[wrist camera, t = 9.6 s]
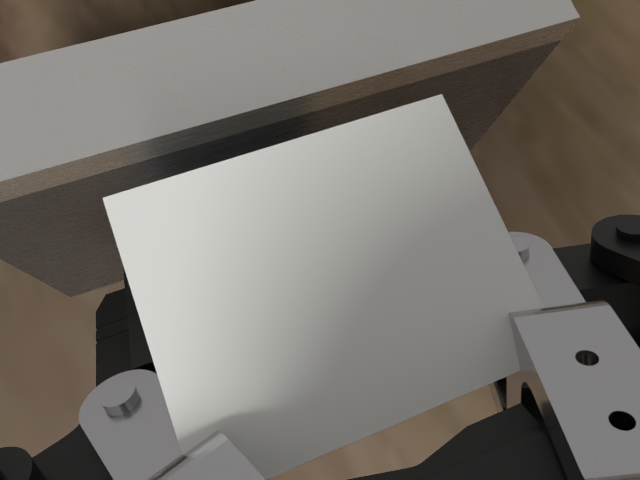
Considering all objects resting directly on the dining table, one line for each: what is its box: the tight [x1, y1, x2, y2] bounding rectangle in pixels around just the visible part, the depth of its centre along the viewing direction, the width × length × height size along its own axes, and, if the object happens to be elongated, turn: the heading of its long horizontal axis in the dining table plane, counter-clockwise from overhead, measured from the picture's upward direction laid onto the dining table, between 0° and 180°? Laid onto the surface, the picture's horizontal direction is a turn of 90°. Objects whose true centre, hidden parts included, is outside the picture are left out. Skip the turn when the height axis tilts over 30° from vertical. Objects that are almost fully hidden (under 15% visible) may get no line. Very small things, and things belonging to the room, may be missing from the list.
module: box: [103, 94, 544, 479], centre depth 12 cm, size 5×4×10 cm
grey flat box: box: [0, 0, 580, 297], centre depth 16 cm, size 14×2×9 cm, turn 111°
